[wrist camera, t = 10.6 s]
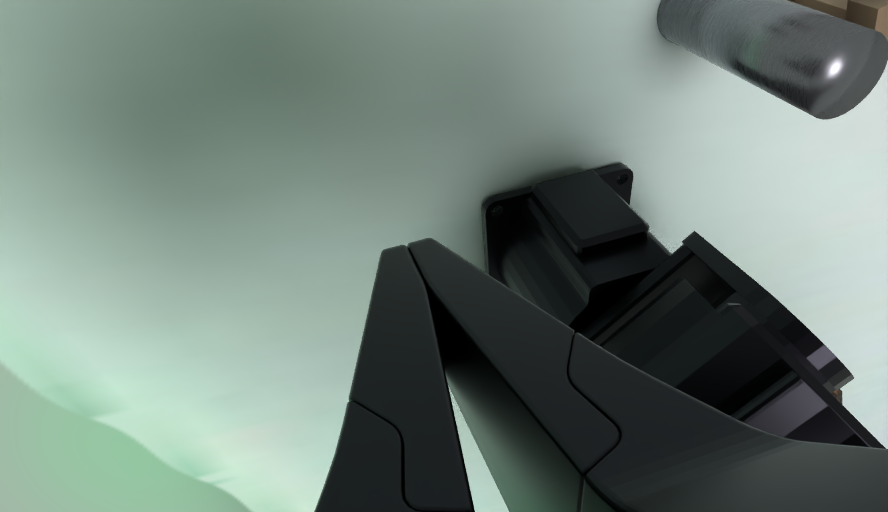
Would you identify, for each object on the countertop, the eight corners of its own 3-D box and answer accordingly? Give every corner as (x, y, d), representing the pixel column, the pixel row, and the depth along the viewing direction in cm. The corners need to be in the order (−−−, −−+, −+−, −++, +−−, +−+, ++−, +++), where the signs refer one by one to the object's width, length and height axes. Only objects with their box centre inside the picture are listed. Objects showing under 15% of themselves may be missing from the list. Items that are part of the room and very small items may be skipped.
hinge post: (710, 35, 22) (868, 109, 16) (653, 47, 21) (796, 127, 16) (724, -35, 20) (903, 22, 15) (662, -23, 20) (824, 40, 14)
